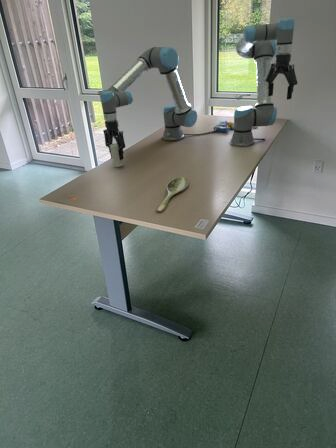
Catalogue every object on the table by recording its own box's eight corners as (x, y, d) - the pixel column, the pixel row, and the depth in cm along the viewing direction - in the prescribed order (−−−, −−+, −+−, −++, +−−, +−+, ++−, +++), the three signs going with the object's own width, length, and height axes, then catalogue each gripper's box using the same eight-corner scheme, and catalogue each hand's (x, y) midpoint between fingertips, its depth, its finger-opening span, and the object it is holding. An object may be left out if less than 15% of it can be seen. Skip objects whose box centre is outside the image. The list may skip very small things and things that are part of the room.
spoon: (170, 216, 152) (169, 212, 151) (148, 213, 156) (148, 209, 155) (192, 180, 179) (192, 176, 178) (173, 178, 182) (173, 175, 181)
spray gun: (238, 125, 262) (220, 124, 268) (238, 119, 260) (220, 119, 266) (230, 133, 247) (211, 133, 253) (230, 128, 244) (211, 127, 251)
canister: (116, 162, 208) (113, 142, 202) (125, 163, 206) (122, 143, 199) (111, 166, 204) (107, 146, 197) (119, 167, 201) (116, 147, 195)
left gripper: (94, 120, 193) (101, 158, 205) (119, 123, 183) (125, 162, 195) (103, 117, 198) (109, 154, 210) (128, 119, 189) (133, 158, 201)
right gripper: (260, 53, 178) (258, 95, 189) (297, 55, 159) (292, 101, 170) (271, 52, 181) (268, 93, 192) (308, 53, 162) (302, 99, 173)
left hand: (117, 158), depth 203 cm, fingers closed on canister, 6 cm apart
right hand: (279, 97), depth 181 cm, fingers open, 13 cm apart
